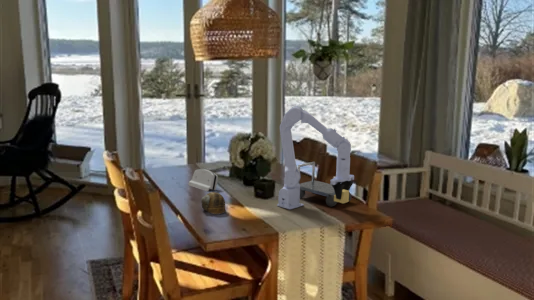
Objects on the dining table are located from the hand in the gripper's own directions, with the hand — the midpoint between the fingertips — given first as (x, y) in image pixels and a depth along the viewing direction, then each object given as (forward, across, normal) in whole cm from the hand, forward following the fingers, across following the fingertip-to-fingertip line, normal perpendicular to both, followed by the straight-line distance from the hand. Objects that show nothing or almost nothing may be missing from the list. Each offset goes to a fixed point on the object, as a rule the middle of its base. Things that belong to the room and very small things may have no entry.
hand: (341, 197), depth 218 cm
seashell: (+5, -44, +35) cm, 56 cm away
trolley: (+5, +6, +15) cm, 17 cm away
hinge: (+5, -22, +69) cm, 72 cm away
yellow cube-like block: (+2, 0, 0) cm, 2 cm away
